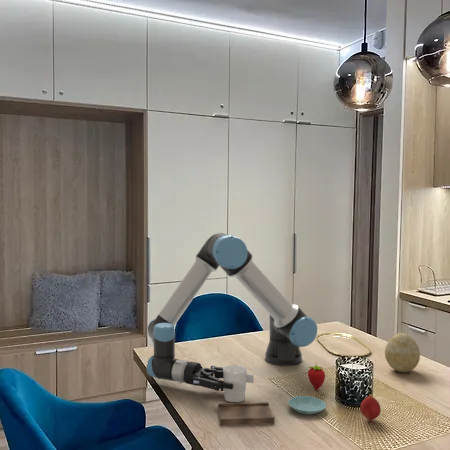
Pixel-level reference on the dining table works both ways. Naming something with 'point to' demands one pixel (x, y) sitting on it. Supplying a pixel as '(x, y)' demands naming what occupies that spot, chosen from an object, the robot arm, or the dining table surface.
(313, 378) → the strawberry
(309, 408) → the saucer
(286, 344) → the robot arm
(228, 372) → the white cup
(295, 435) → the dining table surface
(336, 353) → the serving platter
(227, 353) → the dining table surface
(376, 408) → the red rounded fruit
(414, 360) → the fossilized egg
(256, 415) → the walnut board
